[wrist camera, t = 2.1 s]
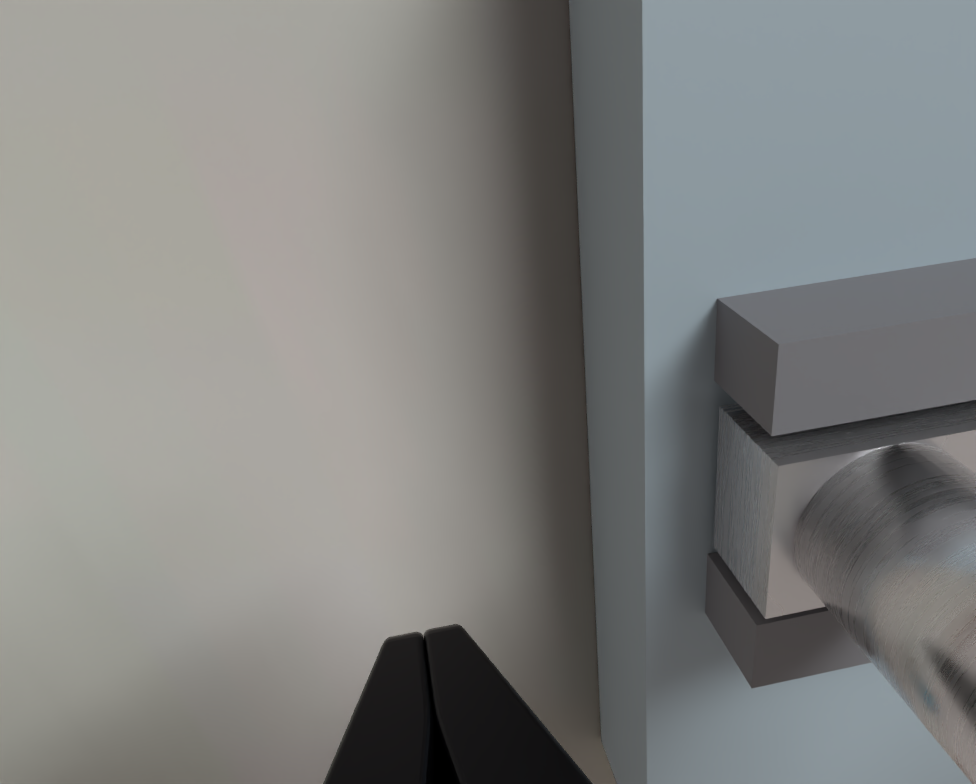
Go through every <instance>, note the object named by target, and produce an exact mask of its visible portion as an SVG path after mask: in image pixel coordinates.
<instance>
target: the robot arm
mask: <svg viewBox="0 0 976 784" xmlns="http://www.w3.org/2000/svg"><path fill="white" fill-rule="evenodd" d="M323 784H592V782H591V781H590V780H589V779H588V778H587V776H586V775H585V774H584V773H583V772H582V770H581V769H580V768H579V767H578V766H577V764H576V763H575V762H574V761H573V760H572V758H571V757H570V756H569V755H568V754H567V752H566V751H565V750H564V749H563V747H562V746H561V745H560V744H559V743H558V741H557V740H556V739H555V738H554V737H553V735H552V734H551V733H550V732H549V731H548V729H547V728H546V727H545V726H544V725H543V723H542V722H541V721H540V720H539V719H538V717H537V716H536V715H535V714H534V713H533V711H532V710H531V709H530V708H529V706H528V705H527V704H526V703H525V702H524V700H523V699H522V698H521V697H520V696H519V694H518V693H517V692H516V691H515V690H514V688H513V687H512V686H511V685H510V684H509V682H508V681H507V680H506V679H505V678H504V676H503V675H502V674H501V673H500V671H499V670H498V669H497V668H496V667H495V665H494V664H493V663H492V662H491V661H490V659H489V658H488V657H487V656H486V655H485V653H484V652H483V651H482V650H481V649H480V647H479V646H478V645H477V644H476V643H475V641H474V640H473V639H472V638H471V637H470V635H469V634H468V633H467V632H466V630H465V629H464V628H463V627H462V626H460V625H458V624H453V625H448V626H443V627H438V628H433V629H429V630H427V631H426V632H425V634H424V638H423V635H422V634H421V633H419V632H413V633H408V634H403V635H398V636H393V637H389V638H387V639H386V640H385V641H384V643H383V645H382V647H381V649H380V652H379V654H378V656H377V659H376V661H375V663H374V666H373V668H372V670H371V673H370V675H369V677H368V680H367V682H366V684H365V687H364V689H363V691H362V694H361V696H360V698H359V701H358V703H357V706H356V708H355V710H354V713H353V715H352V717H351V720H350V722H349V724H348V727H347V729H346V731H345V734H344V736H343V738H342V741H341V743H340V745H339V748H338V750H337V752H336V755H335V757H334V759H333V762H332V764H331V767H330V769H329V771H328V774H327V776H326V778H325V781H324V783H323Z"/></svg>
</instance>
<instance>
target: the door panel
mask: <svg viewBox="0 0 976 784" xmlns="http://www.w3.org/2000/svg"><path fill="white" fill-rule="evenodd" d="M569 13H570V36H571V59H572V82H573V105H574V127H575V150H576V173H577V196H578V219H579V242H580V265H581V287H582V310H583V333H584V356H585V379H586V402H587V425H588V447H589V470H590V493H591V516H592V539H593V562H594V585H595V607H596V630H597V653H598V676H599V699H600V722H601V741H602V744H603V747H604V749H605V752H606V755H607V758H608V760H609V763H610V766H611V769H612V771H613V774H614V777H615V780H616V782H617V784H972V783H971V782H970V780H969V779H968V778H967V777H966V776H965V774H964V773H963V772H962V771H961V770H960V768H959V767H958V766H957V765H956V764H955V762H954V761H953V760H952V759H951V757H950V756H949V755H948V754H947V753H946V751H945V750H944V749H943V748H942V747H941V745H940V744H939V743H938V742H937V741H936V739H935V738H934V737H933V736H932V734H931V733H930V732H929V731H928V730H927V728H926V727H925V726H924V725H923V724H922V722H921V721H920V720H919V719H918V718H917V716H916V715H915V714H914V713H913V711H912V710H911V709H910V708H909V707H908V705H907V704H906V703H905V702H904V701H903V699H902V698H901V697H900V696H899V695H898V693H897V692H896V691H895V690H894V688H893V687H892V686H891V685H890V684H889V682H888V681H887V680H886V679H885V678H884V676H883V675H882V674H881V673H880V672H879V670H878V669H877V668H876V667H875V665H874V664H873V663H872V662H871V661H870V659H869V658H868V657H867V656H866V655H865V653H864V652H863V651H862V650H861V649H860V647H859V646H858V645H857V644H856V642H855V641H854V640H853V639H852V638H851V636H850V635H849V634H848V633H847V632H846V630H845V629H844V628H843V627H842V626H841V624H840V623H839V622H838V621H837V619H836V618H835V617H834V616H833V615H832V613H831V612H830V611H829V610H828V609H827V607H821V608H816V609H811V610H807V611H802V612H797V613H792V614H787V615H782V616H778V617H773V618H768V619H765V618H764V617H763V615H762V614H761V612H760V611H759V610H758V608H757V607H756V605H755V604H754V602H753V601H752V600H751V598H750V597H749V595H748V594H747V593H746V591H745V590H744V588H743V587H742V586H741V584H740V583H739V581H738V580H737V578H736V577H735V576H734V574H733V573H732V571H731V570H730V569H729V567H728V566H727V564H726V563H725V562H724V560H723V559H722V557H721V556H720V555H719V553H718V552H717V550H716V549H715V547H714V525H715V502H716V479H717V455H718V432H719V409H720V406H724V405H730V404H735V403H738V404H739V405H740V406H741V407H742V408H743V409H744V410H745V411H746V412H747V413H748V414H749V415H750V416H751V417H752V418H753V419H754V420H755V421H756V422H757V423H758V424H759V425H760V426H761V427H762V428H763V429H765V430H766V431H767V432H768V433H769V434H770V435H771V436H777V435H782V434H788V433H793V432H799V431H804V430H810V429H816V428H821V427H827V426H832V425H838V424H843V423H849V422H855V421H860V420H866V419H871V418H877V417H882V416H888V415H894V414H899V413H905V412H910V411H916V410H921V409H927V408H933V407H938V406H944V405H949V404H955V403H960V402H966V401H972V400H976V0H569Z"/></svg>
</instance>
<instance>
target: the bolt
mask: <svg viewBox="0 0 976 784" xmlns="http://www.w3.org/2000/svg"><path fill="white" fill-rule="evenodd" d="M714 547H715V549H716V550H717V552H718V553H719V555H720V556H721V557H722V559H723V560H724V562H725V563H726V564H727V566H728V567H729V569H730V570H731V571H732V573H733V574H734V576H735V577H736V578H737V580H738V581H739V583H740V584H741V586H742V587H743V588H744V590H745V591H746V593H747V594H748V595H749V597H750V598H751V600H752V601H753V602H754V604H755V605H756V607H757V608H758V610H759V611H760V612H761V614H762V615H763V617H764V618H765V619H768V618H773V617H778V616H782V615H787V614H792V613H797V612H802V611H807V610H811V609H816V608H821V607H827V609H828V610H829V611H830V612H831V613H832V615H833V616H834V617H835V618H836V619H837V621H838V622H839V623H840V624H841V626H842V627H843V628H844V629H845V630H846V632H847V633H848V634H849V635H850V636H851V638H852V639H853V640H854V641H855V642H856V644H857V645H858V646H859V647H860V649H861V650H862V651H863V652H864V653H865V655H866V656H867V657H868V658H869V659H870V661H871V662H872V663H873V664H874V665H875V667H876V668H877V669H878V670H879V672H880V673H881V674H882V675H883V676H884V678H885V679H886V680H887V681H888V682H889V684H890V685H891V686H892V687H893V688H894V690H895V691H896V692H897V693H898V695H899V696H900V697H901V698H902V699H903V701H904V702H905V703H906V704H907V705H908V707H909V708H910V709H911V710H912V711H913V713H914V714H915V715H916V716H917V718H918V719H919V720H920V721H921V722H922V724H923V725H924V726H925V727H926V728H927V730H928V731H929V732H930V733H931V734H932V736H933V737H934V738H935V739H936V741H937V742H938V743H939V744H940V745H941V747H942V748H943V749H944V750H945V751H946V753H947V754H948V755H949V756H950V757H951V759H952V760H953V761H954V762H955V764H956V765H957V766H958V767H959V768H960V770H961V771H962V772H963V773H964V774H965V776H966V777H967V778H968V779H969V780H970V782H971V783H972V784H976V400H972V401H966V402H960V403H955V404H949V405H944V406H938V407H933V408H927V409H921V410H916V411H910V412H905V413H899V414H894V415H888V416H882V417H877V418H871V419H866V420H860V421H855V422H849V423H843V424H838V425H832V426H827V427H821V428H816V429H810V430H804V431H799V432H793V433H788V434H782V435H777V436H771V435H770V434H769V433H768V432H767V431H766V430H765V429H763V428H762V427H761V426H760V425H759V424H758V423H757V422H756V421H755V420H754V419H753V418H752V417H751V416H750V415H749V414H748V413H747V412H746V411H745V410H744V409H743V408H742V407H741V406H740V405H739V404H738V403H735V404H730V405H724V406H720V409H719V432H718V455H717V479H716V502H715V525H714Z"/></svg>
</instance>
